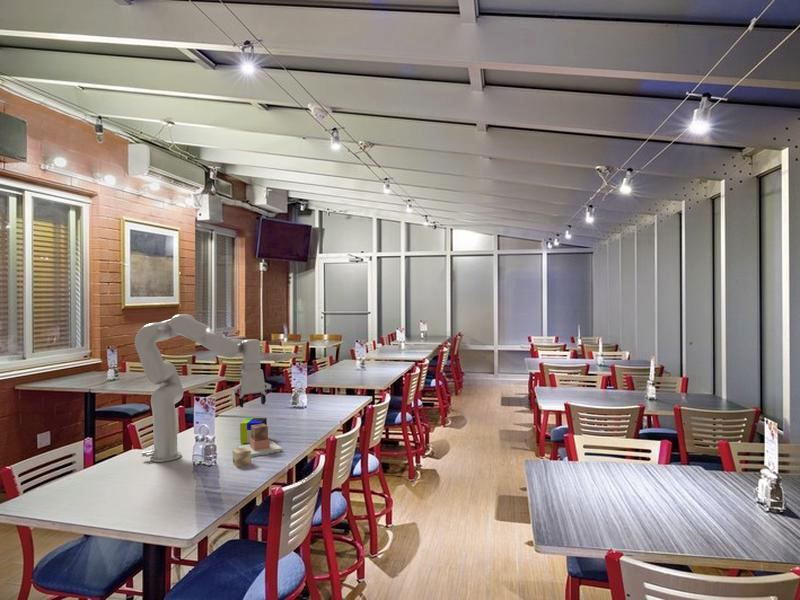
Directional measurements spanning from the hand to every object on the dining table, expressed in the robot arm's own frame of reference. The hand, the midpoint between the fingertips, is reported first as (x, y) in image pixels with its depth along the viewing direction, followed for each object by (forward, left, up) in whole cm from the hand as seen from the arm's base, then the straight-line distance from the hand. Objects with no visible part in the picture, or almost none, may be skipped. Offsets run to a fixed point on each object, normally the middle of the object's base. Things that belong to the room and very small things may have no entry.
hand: (252, 405), depth 227 cm
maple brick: (-7, -9, -22) cm, 25 cm away
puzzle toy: (+7, +23, -22) cm, 33 cm away
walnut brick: (+5, +6, -17) cm, 18 cm away
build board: (+5, +6, -22) cm, 23 cm away
